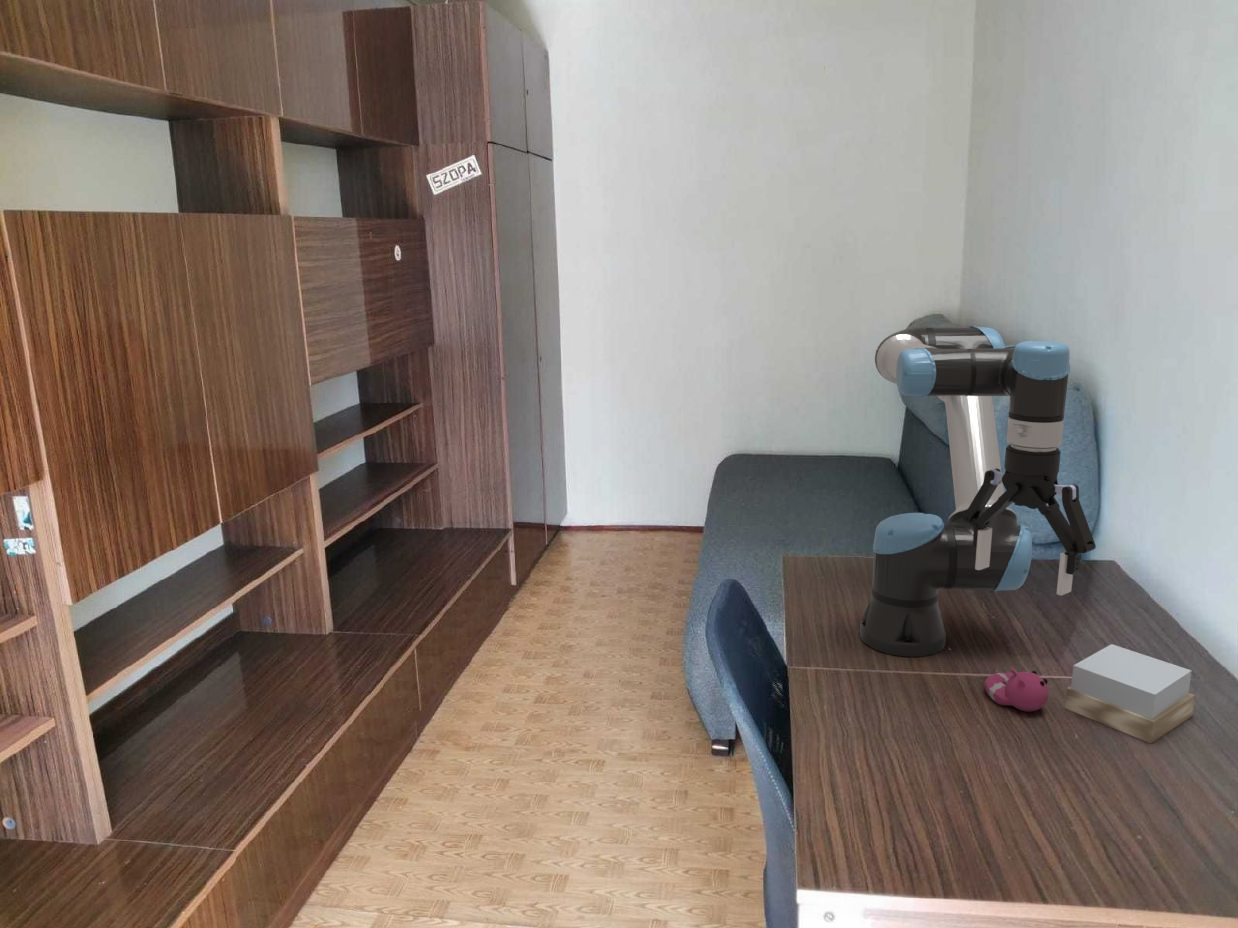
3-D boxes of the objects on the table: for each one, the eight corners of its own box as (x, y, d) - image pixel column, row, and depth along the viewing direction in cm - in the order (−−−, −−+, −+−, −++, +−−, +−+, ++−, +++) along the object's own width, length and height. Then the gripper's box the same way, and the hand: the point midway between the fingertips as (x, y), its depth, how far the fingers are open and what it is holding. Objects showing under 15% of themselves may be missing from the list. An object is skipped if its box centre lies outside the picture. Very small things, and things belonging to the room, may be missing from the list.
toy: (1073, 717, 141) (1045, 672, 138) (1021, 744, 143) (993, 701, 140) (1040, 674, 152) (1014, 632, 149) (992, 701, 153) (965, 660, 150)
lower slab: (1064, 711, 144) (1067, 688, 143) (1107, 686, 151) (1109, 664, 150) (1150, 746, 133) (1153, 722, 132) (1191, 718, 140) (1195, 695, 139)
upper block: (1071, 688, 142) (1073, 665, 141) (1108, 666, 149) (1111, 643, 148) (1151, 719, 133) (1155, 694, 132) (1188, 694, 140) (1191, 670, 139)
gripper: (945, 436, 144) (937, 563, 149) (1103, 465, 124) (1088, 610, 129) (974, 430, 148) (965, 553, 153) (1131, 457, 128) (1115, 598, 133)
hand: (1021, 580), depth 141 cm, fingers open, 13 cm apart
